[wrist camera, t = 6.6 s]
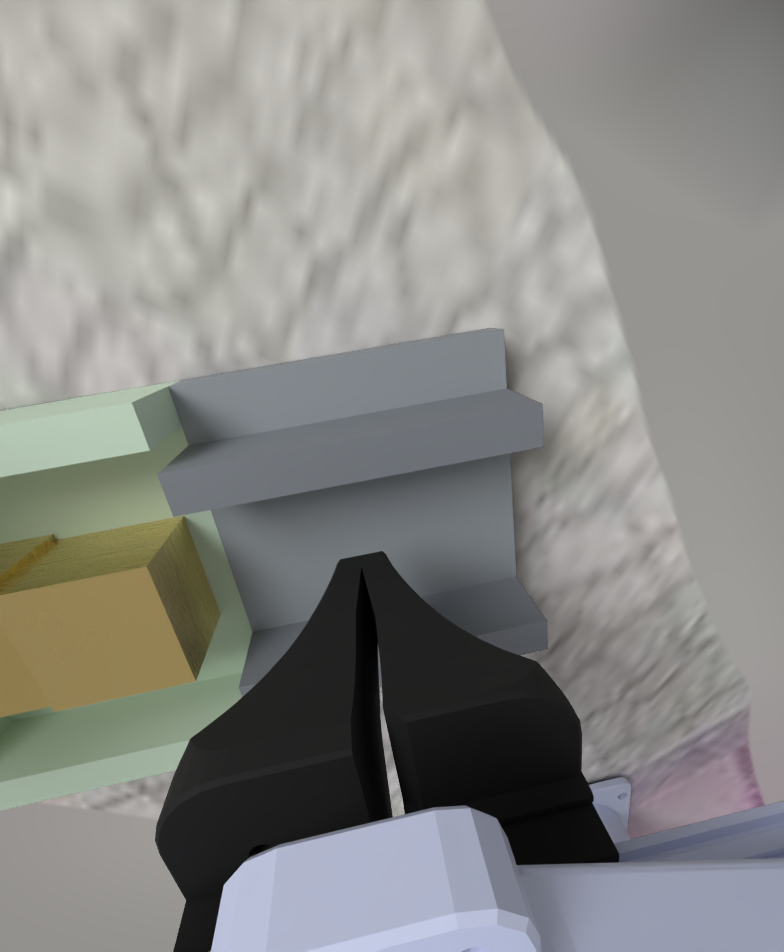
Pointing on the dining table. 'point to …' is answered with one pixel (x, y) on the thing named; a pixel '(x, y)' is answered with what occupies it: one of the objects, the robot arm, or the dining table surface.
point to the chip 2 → (111, 613)
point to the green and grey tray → (273, 519)
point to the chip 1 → (3, 671)
